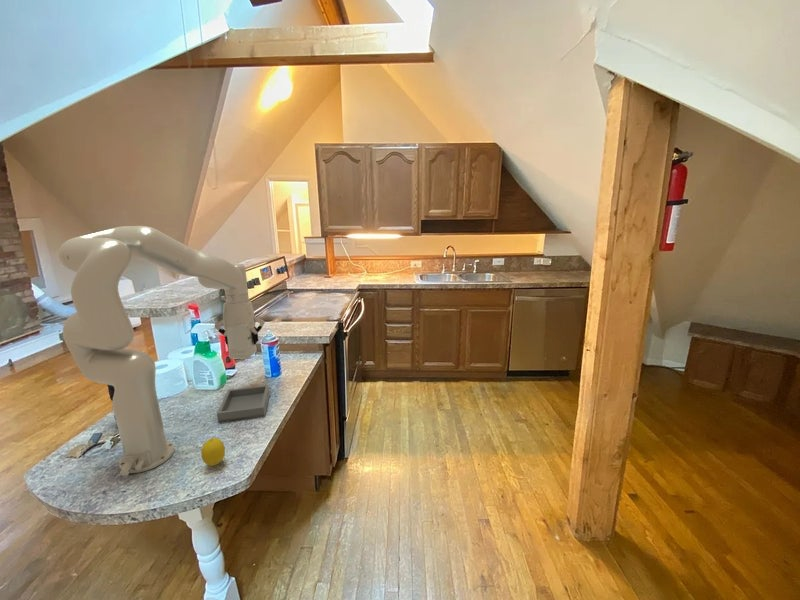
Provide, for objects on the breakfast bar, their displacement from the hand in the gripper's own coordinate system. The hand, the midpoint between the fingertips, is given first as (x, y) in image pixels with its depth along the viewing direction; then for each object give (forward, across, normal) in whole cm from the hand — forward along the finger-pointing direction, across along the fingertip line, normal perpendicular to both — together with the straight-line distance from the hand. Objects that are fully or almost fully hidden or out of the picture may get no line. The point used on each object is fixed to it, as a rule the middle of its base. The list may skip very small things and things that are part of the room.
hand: (242, 344), depth 132 cm
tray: (+18, +2, -13) cm, 23 cm away
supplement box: (+4, 0, 0) cm, 4 cm away
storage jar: (+19, -32, -12) cm, 40 cm away
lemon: (+19, -2, -42) cm, 46 cm away
